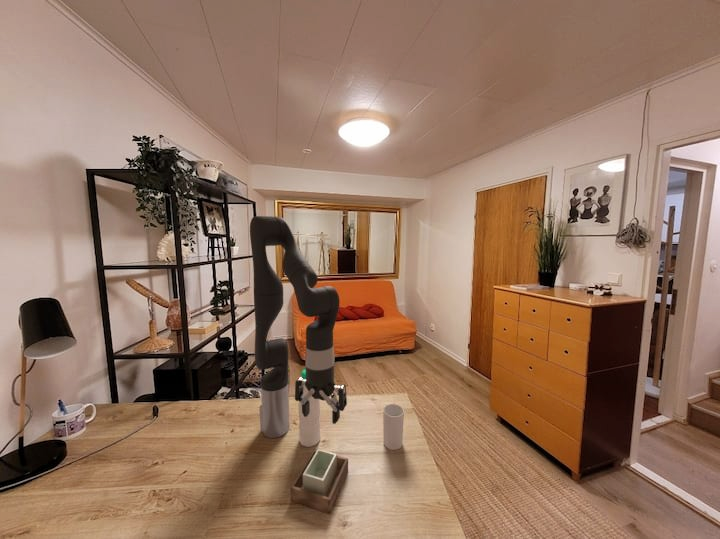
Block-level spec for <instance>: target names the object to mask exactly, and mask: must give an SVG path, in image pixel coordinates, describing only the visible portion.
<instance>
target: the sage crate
mask: <svg viewBox="0 0 720 539" xmlns="http://www.w3.org/2000/svg"><path fill="white" fill-rule="evenodd" d="M316 450H317V451H316V453H315V455H314V456H313V458H312V460H311V461H310V463H309V465H308V466H307V468H306V470H305V471H304V473H303V489H304V490H307V491H310V492H313V493H317V494H320V495H323V496H326V495H327V493H328V491H329V489H330V486H331V484H332V482H333V480H334V478H335V476H336V473H337V456H338V454H337V453H334V452H331V451H327V450H323V449H319V448H317V449H316Z"/></svg>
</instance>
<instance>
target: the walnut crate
mask: <svg viewBox="0 0 720 539" xmlns="http://www.w3.org/2000/svg"><path fill="white" fill-rule="evenodd" d="M317 450H318V449H313V450H312V452H311V453H310V455H309V457H308V459H307V460H306V462H305V464H304V465H303V466H302V469H300V471H299V472H298V475H297V476H296V478H295V480H294V481H293V482H292V484H291V486H290V501H291V502H293V503H296V504H298V505H301V506H305V507H307V508H309V509H313V510H316V511H319V512H321V513H324V514H328V515H331V513H332V511H333V508H334V505H336V504H335V503H336V501H337V499H338V496H339V494H340V491H341V489H342V487H343V485H344V483H345V479H346V477H347V475H348V473H349V458H347V457H343V456H339V455H337V473H336V476H335V478H334V480H333V482H332V484H331V486H330V489H329V491H328V493H327V495H326V496H323V495H320V494H317V493H313V492H310V491H307V490H304V489H303V473H304V471H305V470H306V468H307V466H308V465H309V463H310V461H311V460H312V458H313V456H314V455H315V453H316V451H317Z"/></svg>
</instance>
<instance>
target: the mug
mask: <svg viewBox="0 0 720 539" xmlns="http://www.w3.org/2000/svg"><path fill="white" fill-rule="evenodd" d="M382 416H383V422H382V423H383V444H384V446H385V448H387V449H389V450H391V451H397V450H399V449H401V447H402V445H403V439H404V437H403V436H404V419H405V418H404V417H405V410H404V408H403V407H402V406H401V405H400V404H397V403H395V402H392V403H389V404H386V405H385V406H384V407H383V415H382Z"/></svg>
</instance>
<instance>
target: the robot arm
mask: <svg viewBox="0 0 720 539" xmlns="http://www.w3.org/2000/svg"><path fill="white" fill-rule="evenodd" d="M249 237H250V239H249V240H250V246H251V255H252V256H251V258H252V266H253V268H252V270H253V304H254V305H253V306H254V318H255V319H254V322H255V323H254V324H255V325H254V326H255V329H254V334H255V335H254V362H255V365H256V368H257V369H258V370H260V371H262V370H263V371H264V370H268V369H270V370H269V371H268V372H266V373H265V374H263V375H262V376H261V378H260V394H261V405H260V406H259V408H258V409H259V424H260V426H259V427H260V432H261V433H262V434H263V436H265V437H266V438H269V439H270V438H271V439H276V438H280V437H282V436H284V435H285V434H286V433H288V431H289V430H290V427H291V426H290V393H289V358H290V356H289V355H290V354H289V353H290V352H289V351H290V350H289V345H288V341H287V340H286V339H285V338H283V337H281V338H275V339H270V340H267V338H268V335H269V332H270V329H271V327H272V325H273V324H274V322H275V320H276V319H277V318H278V316H279V314H280V312H281V310H282V309H283V307H284V284H283V282H282V280H281V279H280V277H279V275H278V274H277V273H276V271H275V270H274V268H273V267H272V265H271V263H270V261H269V260H268V255H267V250H266V248H267V247H273V246H275V247H276V246H281V247H282V248H283V249H284V254H283V258H282V270H283V272H284V274H285V276H286V278H287V279H288V280H289V282H290V284H291V285H292V288H293V290H294V294H295V298H296V303H297V307H298V310H299V311H300V313H301V314H302V315H303V316H306V317H307V318H314V317H317V318H316V320H313V322H311V323H310V324H308V325H307V326H306V329H305V353H304V354H305V356H304V358H305V360H304V362H305V369H306V380H305V379H304V378H303V377H302V376H301V375H300V377H299V378H298V379H297V380H295V384H294V386H295V388H294V400H295V401H296V402H299V401H300V402H301V404H302V414H304V417H307V416H308V414H309V412H310V403H309V400H308V399H309V398H310V397H311V396H312V397H314V399H320V401H325V402H326V404H327V405H328V406H330V408H331V409H332V411H331V413H332V417H331V418H332V420H331V422H332V424H335V425H336V423H338V422H339V420H340V418H341V417H340V416H341V412H343V411H344V410H345V409H346V406H347V405H348V402H347V401H348V399H347V386H346V384H343V383H342V384H341V385H336V382H335V361H336V360H335V359H336V358H335V349H334V328H335V325H336V322H337V317H338V313H339V308H340V296H339V292H338V291H337V290H336V289H335V287H333V286H331V285H326V286H320V287H319V286H318V287H316V285H317V283H318V280H319V278H318V275H317V273H316V271H315V270H314V269H313V267H312V266H311V265H310V263H309V262H308V260H307V258H306V257H305V256H304V254H303V253H302V251H301V249H300V247H299V244H298V242H297V240H296V238H295V235H294V234H293V231H292V229H291V227H290V225H289V223H288V222H287V220H285V219H284V218H283V217H282V216H269V215H268V216H267V215H266V216H264V215H255V216H253V217H252V218H251V219H250V222H249ZM304 385H305V386H306V388H307V389H308V391H309V392H308V393H307V394H306V396H305V395H303V387H304ZM335 392H336V393H335ZM337 396H338V397H337Z"/></svg>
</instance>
